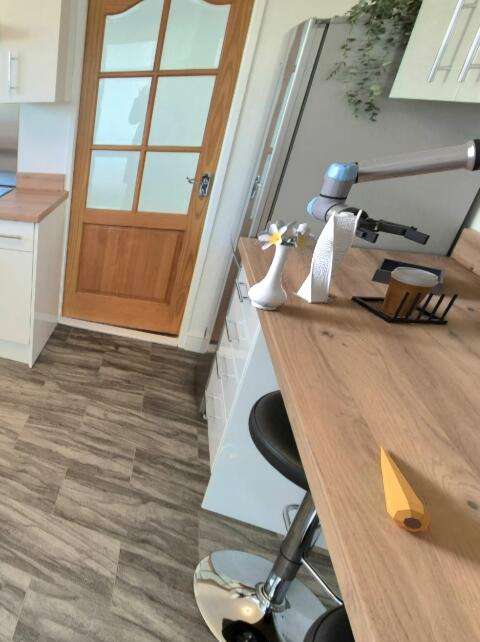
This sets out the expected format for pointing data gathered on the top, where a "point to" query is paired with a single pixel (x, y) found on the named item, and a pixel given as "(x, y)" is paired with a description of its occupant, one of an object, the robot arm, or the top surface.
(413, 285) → the disposable coffee cup
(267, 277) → the flower vase
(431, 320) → the dish rack
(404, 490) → the carrot
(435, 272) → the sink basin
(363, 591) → the top surface
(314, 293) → the skyscraper
